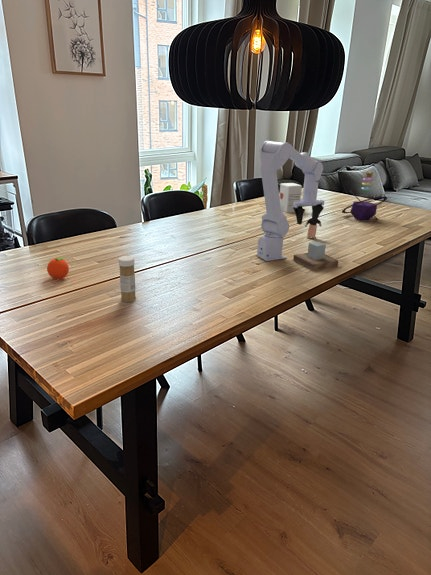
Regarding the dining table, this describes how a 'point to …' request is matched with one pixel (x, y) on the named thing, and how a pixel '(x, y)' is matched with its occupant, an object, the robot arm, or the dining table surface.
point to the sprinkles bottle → (127, 278)
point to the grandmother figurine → (312, 228)
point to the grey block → (316, 250)
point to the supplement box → (289, 196)
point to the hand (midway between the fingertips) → (306, 223)
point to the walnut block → (315, 262)
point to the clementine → (58, 268)
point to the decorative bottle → (364, 203)
